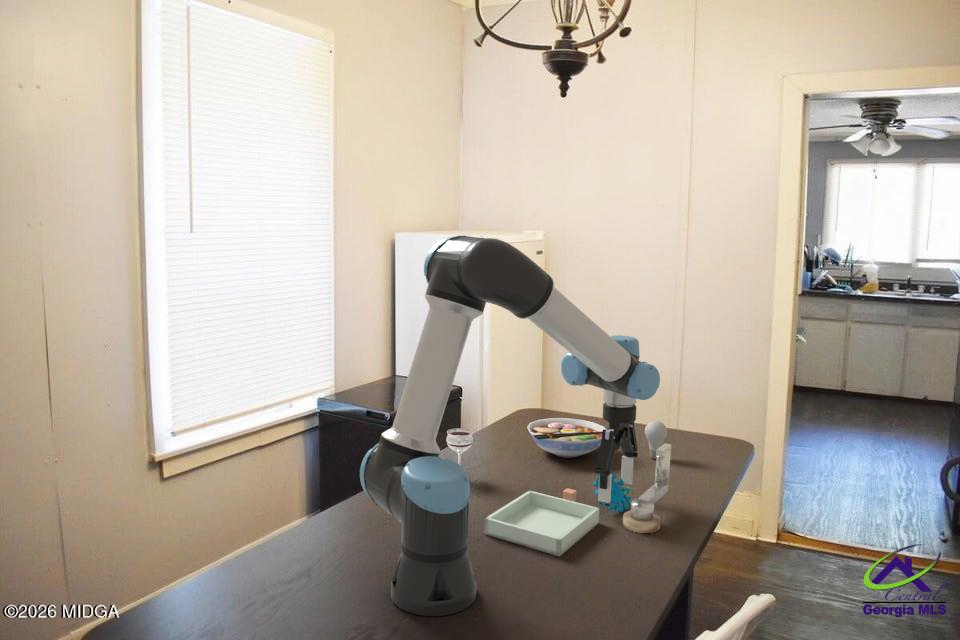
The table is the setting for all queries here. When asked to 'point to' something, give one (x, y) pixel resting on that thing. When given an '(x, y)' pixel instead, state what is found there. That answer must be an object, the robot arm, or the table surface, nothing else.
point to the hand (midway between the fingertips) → (615, 492)
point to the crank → (653, 487)
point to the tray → (542, 522)
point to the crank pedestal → (641, 524)
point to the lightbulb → (655, 436)
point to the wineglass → (459, 440)
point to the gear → (616, 494)
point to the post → (569, 495)
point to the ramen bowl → (566, 436)
